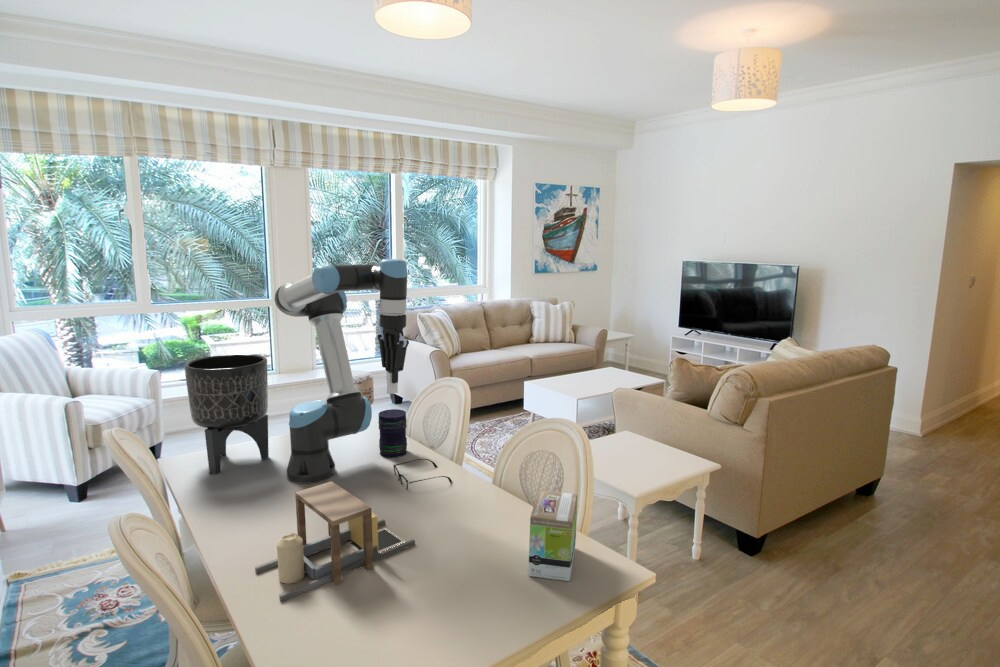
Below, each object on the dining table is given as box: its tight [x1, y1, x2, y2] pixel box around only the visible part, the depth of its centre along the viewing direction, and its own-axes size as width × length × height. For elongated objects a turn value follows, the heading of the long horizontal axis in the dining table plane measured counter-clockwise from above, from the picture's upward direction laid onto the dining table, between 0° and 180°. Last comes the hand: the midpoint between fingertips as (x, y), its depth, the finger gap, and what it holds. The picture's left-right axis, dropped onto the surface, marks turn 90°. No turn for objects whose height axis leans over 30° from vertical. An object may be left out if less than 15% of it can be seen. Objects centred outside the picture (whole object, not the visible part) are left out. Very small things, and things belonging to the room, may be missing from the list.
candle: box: [276, 532, 305, 585], centre depth 128 cm, size 6×6×10 cm
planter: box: [184, 353, 270, 475], centre depth 193 cm, size 25×25×36 cm
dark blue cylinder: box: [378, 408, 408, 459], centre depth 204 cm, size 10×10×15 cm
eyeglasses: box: [392, 458, 453, 490], centre depth 183 cm, size 16×16×4 cm
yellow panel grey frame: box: [303, 512, 379, 580], centre depth 136 cm, size 12×16×10 cm
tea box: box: [527, 490, 578, 582], centre depth 135 cm, size 15×10×15 cm, turn 168°
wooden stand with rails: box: [254, 481, 416, 602], centre depth 136 cm, size 20×34×15 cm, turn 133°
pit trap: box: [345, 527, 406, 553], centre depth 144 cm, size 10×12×1 cm
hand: (392, 392), depth 167 cm, fingers closed
